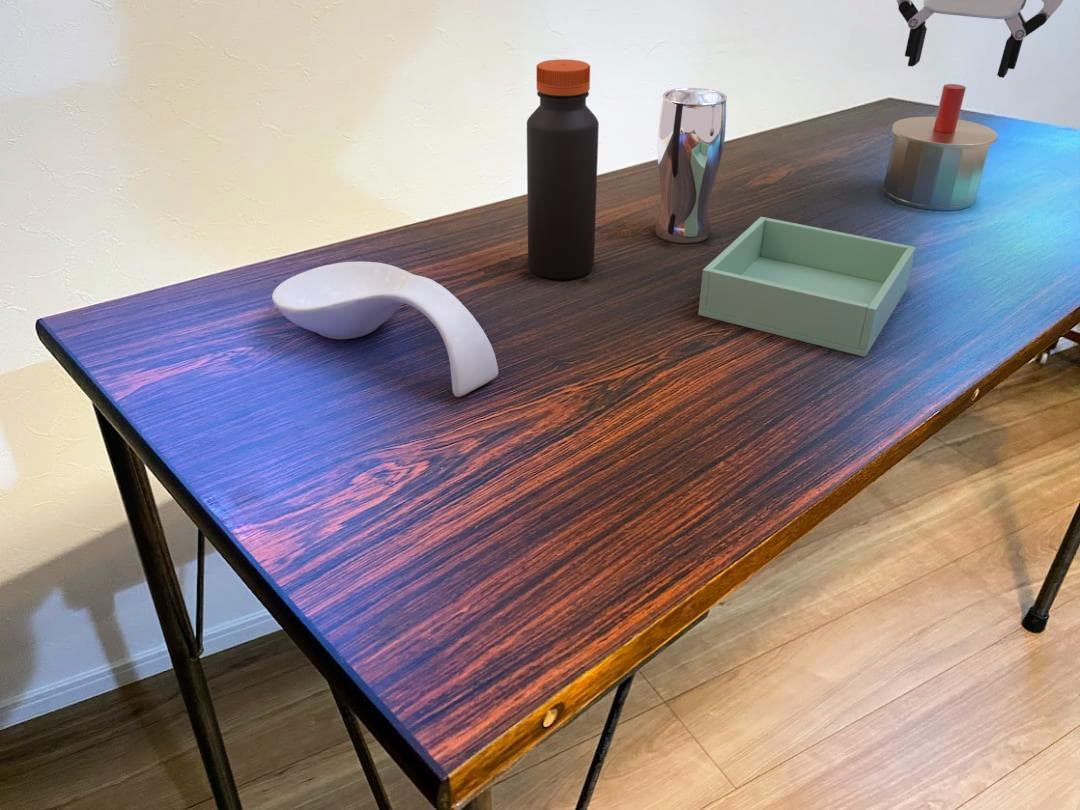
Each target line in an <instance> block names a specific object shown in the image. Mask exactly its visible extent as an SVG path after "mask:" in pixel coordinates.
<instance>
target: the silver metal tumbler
mask: <svg viewBox="0 0 1080 810" xmlns="http://www.w3.org/2000/svg"><path fill="white" fill-rule="evenodd" d="M727 99H728V96H727V95H726V94H725V93H724V92H721V91H718V90H714V89H709V88H702V87H681V88H680V87H679V88H673V89H669V90H666V91H664V92H663V93H662V101H661V107H660V112H659V118H658V119H659V120H658V128H657V129H658V130H657V147H656V151H657V165H658V175H659V183H660V184H659V185H660V206H659V207H660V208H659V212H658V216H657V220H656V224H655V228H654V231H655V234H656V236H657V237H658V238H660V240H661V239H662V240H664V241H666V242H669V243H675V244H697V243H701V242H704V241H705V240H707V239H708V238H709V237H710V235H711V224H710V223H711V222H710V203H711V197H712V193H713V190H714V189H713V188H714V185H715V182H716V178H717V175H718V172H719V169H720V165H721V160H722V157H723V151H724V146H725V145H724V144H725V140H726V139H725V138H726V126H727V125H726V124H727Z"/></svg>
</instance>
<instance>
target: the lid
mask: <svg viewBox="0 0 1080 810" xmlns="http://www.w3.org/2000/svg"><path fill="white" fill-rule="evenodd" d="M966 89H967V88H966V86H964V85H962V84H958V83H947V84H944V85H943V87H942V90H941V95H940V100H939V103H938V108H937V112H936V116H914V117H905V118H902V119H898V120H897V121H895V122H894V123H893V124H892V128H891V131H892V133H893V134H895V135H897V136H898V137H900V138H902V139H904V140H907V141H910V142H914V143H917V144H922V145H926V146H932V147H940V148H952V149H972V148H981V147H986V146H989V145H991V146H992V145H994V144H995V143H996V142H997V138H998V133H997V132H996V131H995V130H994V129H992V128H991V127H988V126H986V125H983V124H981V123H977V122H974V121H969V120H964V119H960V118H959V117H960V113H961V110H962V105H963V102H964V97H965V93H966Z"/></svg>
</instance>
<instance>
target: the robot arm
mask: <svg viewBox="0 0 1080 810" xmlns="http://www.w3.org/2000/svg"><path fill="white" fill-rule="evenodd" d="M1041 1H1042V2H1043V7H1042V8H1041V9H1040V10H1039V11H1038V13H1036V14H1035V15H1034V16H1032V17H1031V18H1029V19H1028V20H1026V19H1025V17H1024V15H1023V13H1022V12H1021V11H1022V10H1023V9H1024V7H1025V6H1026V3H1027V0H923V6H924V7H922V8H921V9H920V10H919V9H918V8H917V7H916V5H915V4H914V2H913V1H912V0H896V3H897V6H898V12H899V13H900V14H901V16H902V17H903V19H904V20H905V22H906V24H907V27H908V28H909V34H908V38H907V43H906V48H905V52H904V57H907V58H908V63H907V67H914V66H916V65H917V64H918V63H920V61H921V58H922V53H923V48H924V44H925V39H926V34H927V30H928V27H927V26H926V21H927V20H928V19H929V18H930V17H932V15H934V13H936V14H940V15H950V16H958V17H959V16H960V17H970V18H979V19H992V20H1004V22H1005V24H1006V26H1007V28H1008V29H1009V31H1010V36H1009V37H1008V38H1007V39H1006V41H1005V44H1004V49H1003V52H1002V56H1001V59H1000V63H999V67H998V70H997V73H996V75H997V77H998V78H1001V79H1002V78H1005V77H1006V75H1007V74H1008V72H1009V70H1015V69H1016V67H1017V66H1016V65H1017V63H1018V59H1019V56H1020V52H1021V49H1022V44H1023V41H1024V39H1025V38H1026V37H1028V36H1029V35H1030V34H1033V32H1035V31H1036V30H1038V29H1039V28H1041V27H1042V26H1043V25H1045V24H1046V22H1047V21H1048V20H1049V19H1050V17H1052V15H1053V14H1054V13H1055V12H1056V11H1057V10H1058V8H1059V7H1061V5H1062V4H1063V3H1064V0H1041Z"/></svg>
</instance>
